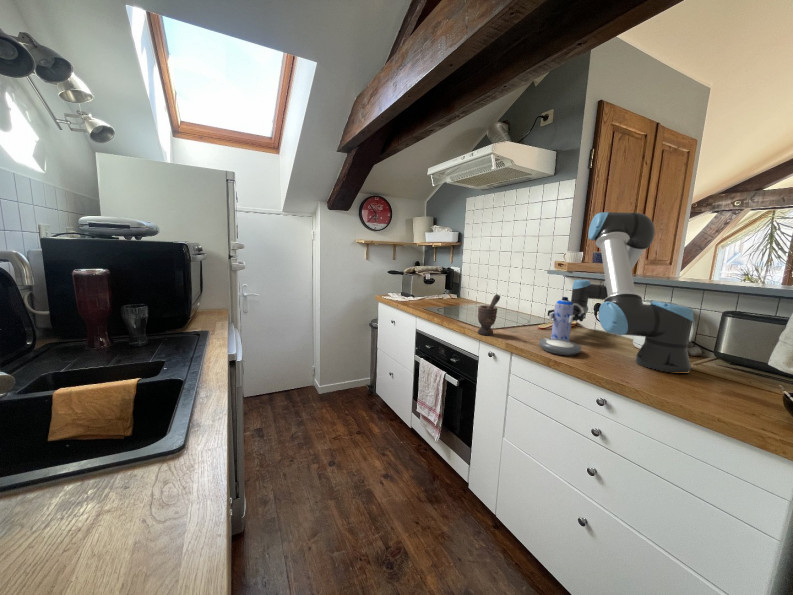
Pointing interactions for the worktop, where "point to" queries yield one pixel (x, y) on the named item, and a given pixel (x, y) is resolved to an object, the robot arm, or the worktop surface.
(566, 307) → the aerosol can
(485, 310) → the mortar and pestle
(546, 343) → the disc
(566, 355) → the turntable base
